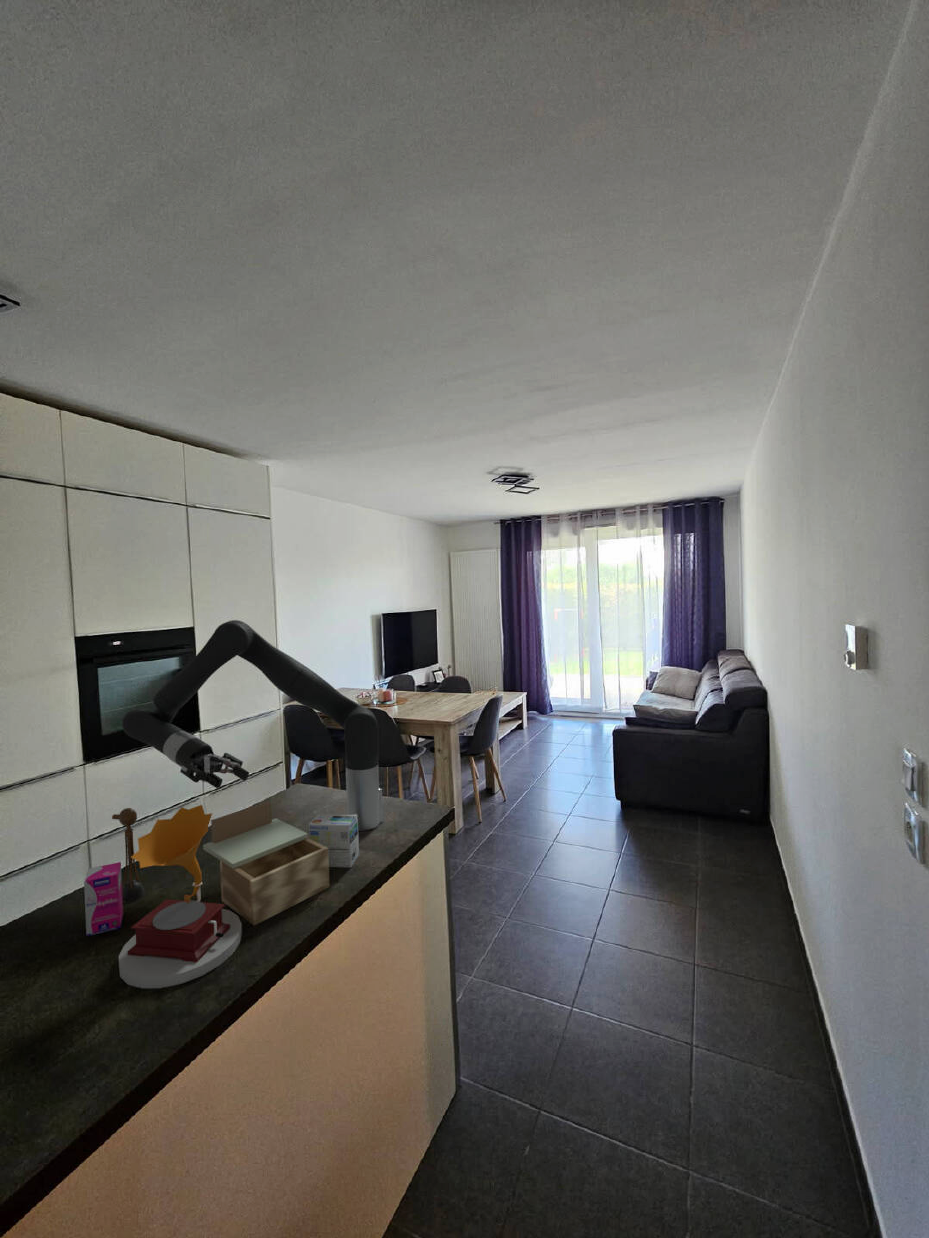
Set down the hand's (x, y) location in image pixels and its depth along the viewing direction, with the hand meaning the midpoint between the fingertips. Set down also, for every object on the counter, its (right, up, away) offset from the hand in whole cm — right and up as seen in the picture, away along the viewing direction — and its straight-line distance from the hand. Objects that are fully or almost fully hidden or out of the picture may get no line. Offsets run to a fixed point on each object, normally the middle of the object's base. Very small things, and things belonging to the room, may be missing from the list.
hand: (234, 780), depth 129 cm
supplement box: (-17, -24, -20) cm, 36 cm away
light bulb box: (+23, -22, +4) cm, 32 cm away
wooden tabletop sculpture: (-19, -23, -10) cm, 31 cm away
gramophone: (+2, -24, -28) cm, 37 cm away
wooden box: (+14, -22, -10) cm, 28 cm away
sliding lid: (+7, -13, -5) cm, 16 cm away
